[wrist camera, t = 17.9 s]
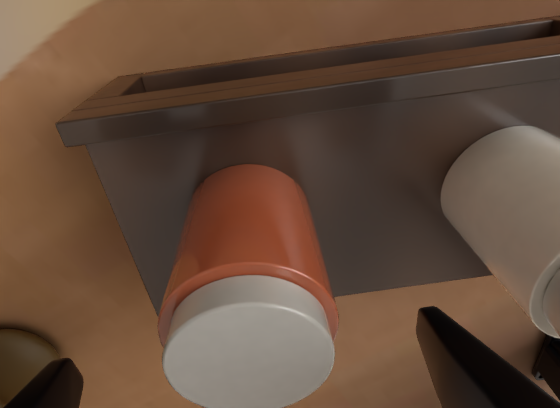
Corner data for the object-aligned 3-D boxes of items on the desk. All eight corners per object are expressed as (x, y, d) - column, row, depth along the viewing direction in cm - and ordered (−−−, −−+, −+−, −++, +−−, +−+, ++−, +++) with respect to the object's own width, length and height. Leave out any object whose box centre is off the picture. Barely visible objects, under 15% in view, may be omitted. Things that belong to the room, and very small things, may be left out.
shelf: (569, 14, 16) (726, 30, 11) (518, 206, 21) (607, 280, 16) (117, 76, 16) (53, 123, 11) (177, 253, 21) (153, 343, 16)
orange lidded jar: (305, 154, 13) (346, 280, 8) (313, 257, 16) (349, 407, 10) (172, 172, 13) (118, 311, 8) (202, 272, 16) (177, 431, 10)
